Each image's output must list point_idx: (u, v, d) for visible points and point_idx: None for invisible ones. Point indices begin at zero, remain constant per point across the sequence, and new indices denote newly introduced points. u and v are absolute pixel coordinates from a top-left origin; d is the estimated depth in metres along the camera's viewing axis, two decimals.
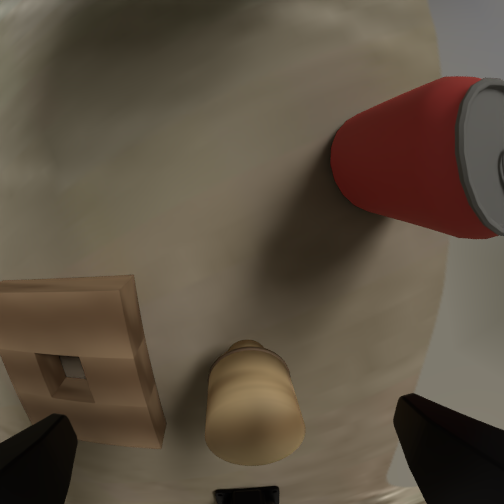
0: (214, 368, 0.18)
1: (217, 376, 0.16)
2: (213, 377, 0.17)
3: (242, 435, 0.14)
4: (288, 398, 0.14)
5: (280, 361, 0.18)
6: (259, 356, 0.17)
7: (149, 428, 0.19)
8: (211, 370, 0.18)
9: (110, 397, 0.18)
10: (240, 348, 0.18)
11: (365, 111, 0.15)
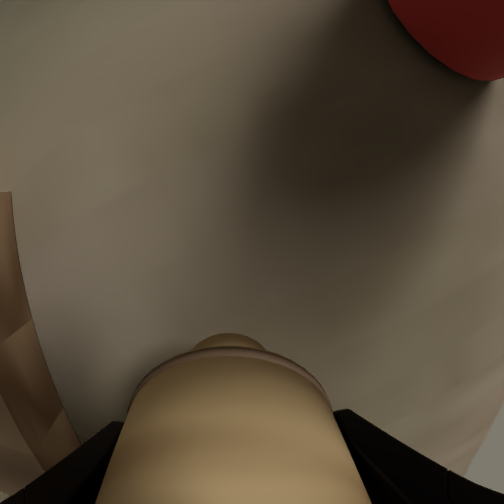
0: (133, 401, 0.06)
1: (126, 430, 0.05)
2: (123, 428, 0.05)
3: None
4: None
5: (313, 386, 0.06)
6: (254, 375, 0.06)
7: None
8: (130, 404, 0.06)
9: None
10: (202, 351, 0.06)
11: None
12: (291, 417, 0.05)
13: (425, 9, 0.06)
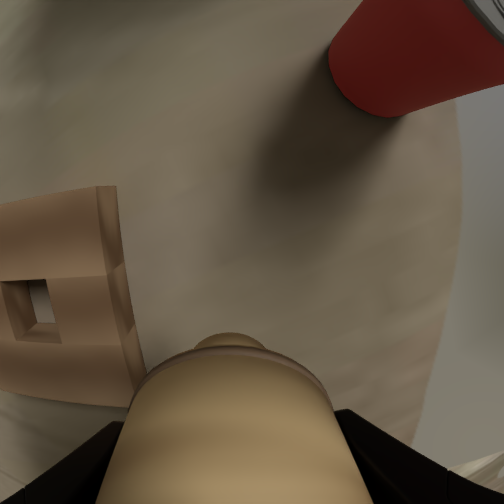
0: (134, 400, 0.06)
1: (126, 429, 0.05)
2: (123, 427, 0.05)
3: None
4: None
5: (314, 385, 0.06)
6: (255, 374, 0.06)
7: (123, 377, 0.16)
8: (131, 403, 0.06)
9: (78, 333, 0.15)
10: (203, 350, 0.06)
11: None
12: (292, 416, 0.05)
13: (348, 84, 0.15)
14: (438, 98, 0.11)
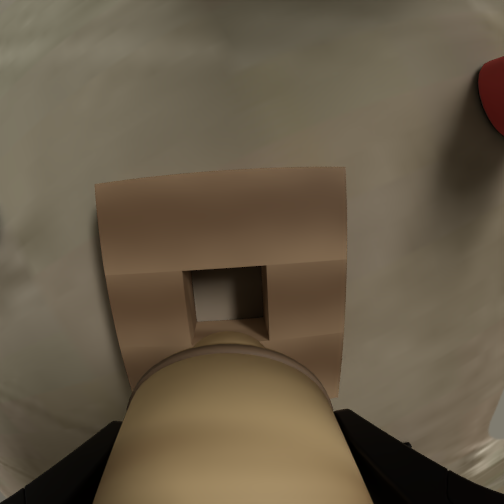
0: (132, 398, 0.06)
1: (124, 428, 0.05)
2: (122, 425, 0.05)
3: None
4: None
5: (313, 384, 0.06)
6: (254, 372, 0.05)
7: (334, 367, 0.16)
8: (129, 402, 0.06)
9: (297, 325, 0.16)
10: (202, 348, 0.06)
11: None
12: (291, 414, 0.05)
13: (499, 113, 0.15)
14: None
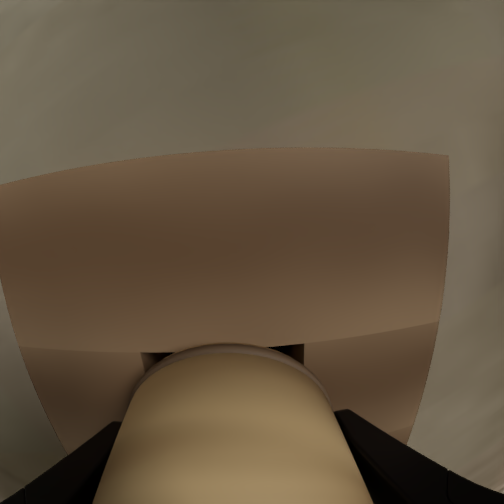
0: (132, 398, 0.06)
1: (124, 428, 0.05)
2: (121, 425, 0.05)
3: None
4: None
5: (313, 384, 0.06)
6: (254, 372, 0.05)
7: None
8: (129, 402, 0.06)
9: None
10: (202, 348, 0.06)
11: None
12: (291, 414, 0.05)
13: None
14: None
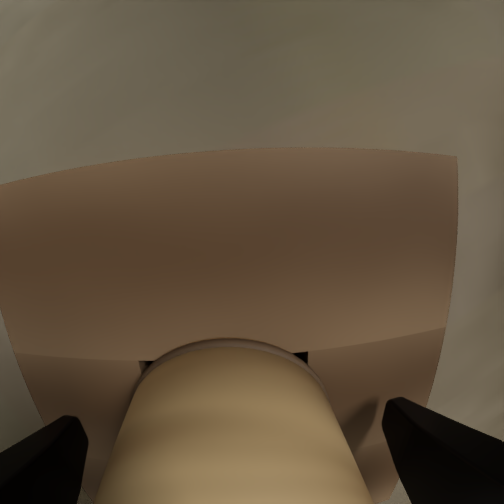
0: (135, 392, 0.06)
1: (129, 419, 0.05)
2: (125, 417, 0.05)
3: None
4: None
5: (310, 377, 0.06)
6: (253, 365, 0.06)
7: (393, 472, 0.09)
8: (132, 395, 0.06)
9: (350, 436, 0.08)
10: (203, 342, 0.07)
11: None
12: (289, 404, 0.05)
13: None
14: None
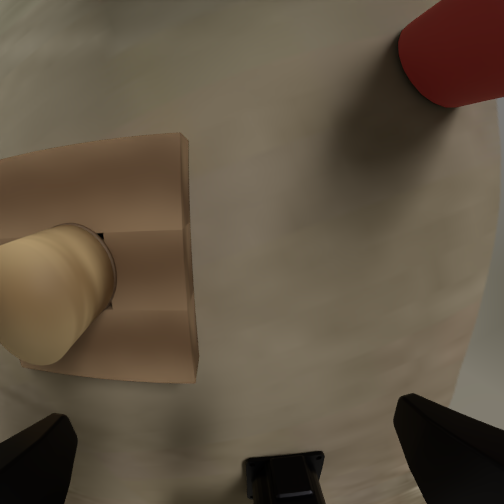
0: None
1: None
2: None
3: (7, 303, 0.09)
4: (54, 256, 0.10)
5: (97, 241, 0.14)
6: (69, 227, 0.13)
7: (183, 348, 0.16)
8: None
9: (136, 297, 0.15)
10: (60, 224, 0.14)
11: (429, 10, 0.12)
12: (68, 235, 0.12)
13: (419, 72, 0.14)
14: (501, 93, 0.11)
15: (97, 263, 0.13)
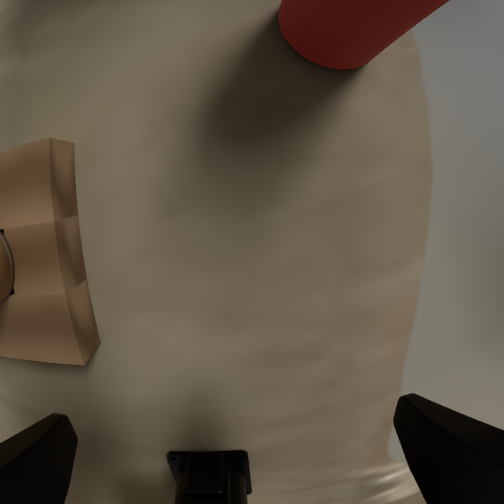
0: None
1: None
2: None
3: None
4: None
5: None
6: None
7: (68, 330, 0.15)
8: None
9: (29, 283, 0.15)
10: None
11: None
12: None
13: (294, 36, 0.14)
14: (377, 32, 0.10)
15: None
